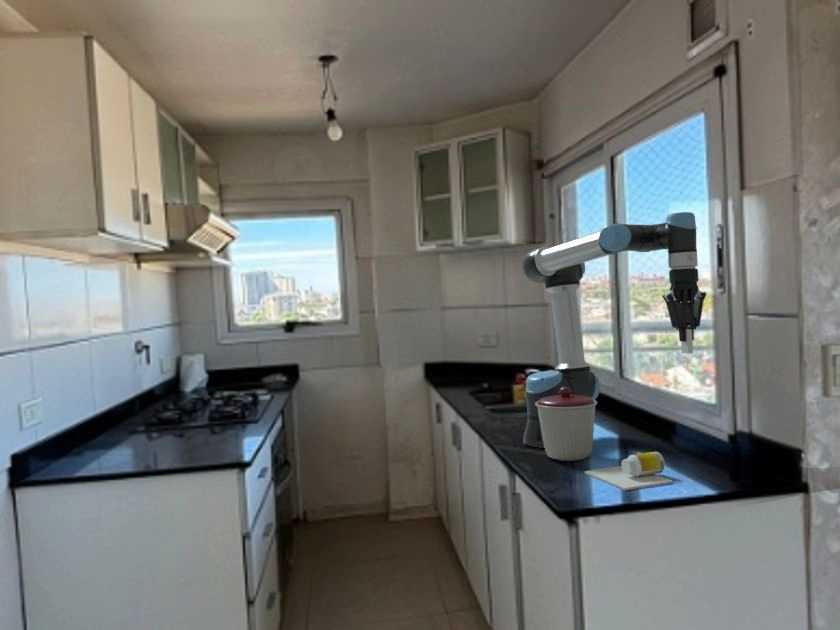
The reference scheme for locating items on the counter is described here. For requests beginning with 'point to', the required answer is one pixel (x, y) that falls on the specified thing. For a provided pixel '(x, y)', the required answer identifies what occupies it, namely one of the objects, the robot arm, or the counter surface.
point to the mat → (627, 478)
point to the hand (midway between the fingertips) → (687, 352)
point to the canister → (567, 425)
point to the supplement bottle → (643, 464)
